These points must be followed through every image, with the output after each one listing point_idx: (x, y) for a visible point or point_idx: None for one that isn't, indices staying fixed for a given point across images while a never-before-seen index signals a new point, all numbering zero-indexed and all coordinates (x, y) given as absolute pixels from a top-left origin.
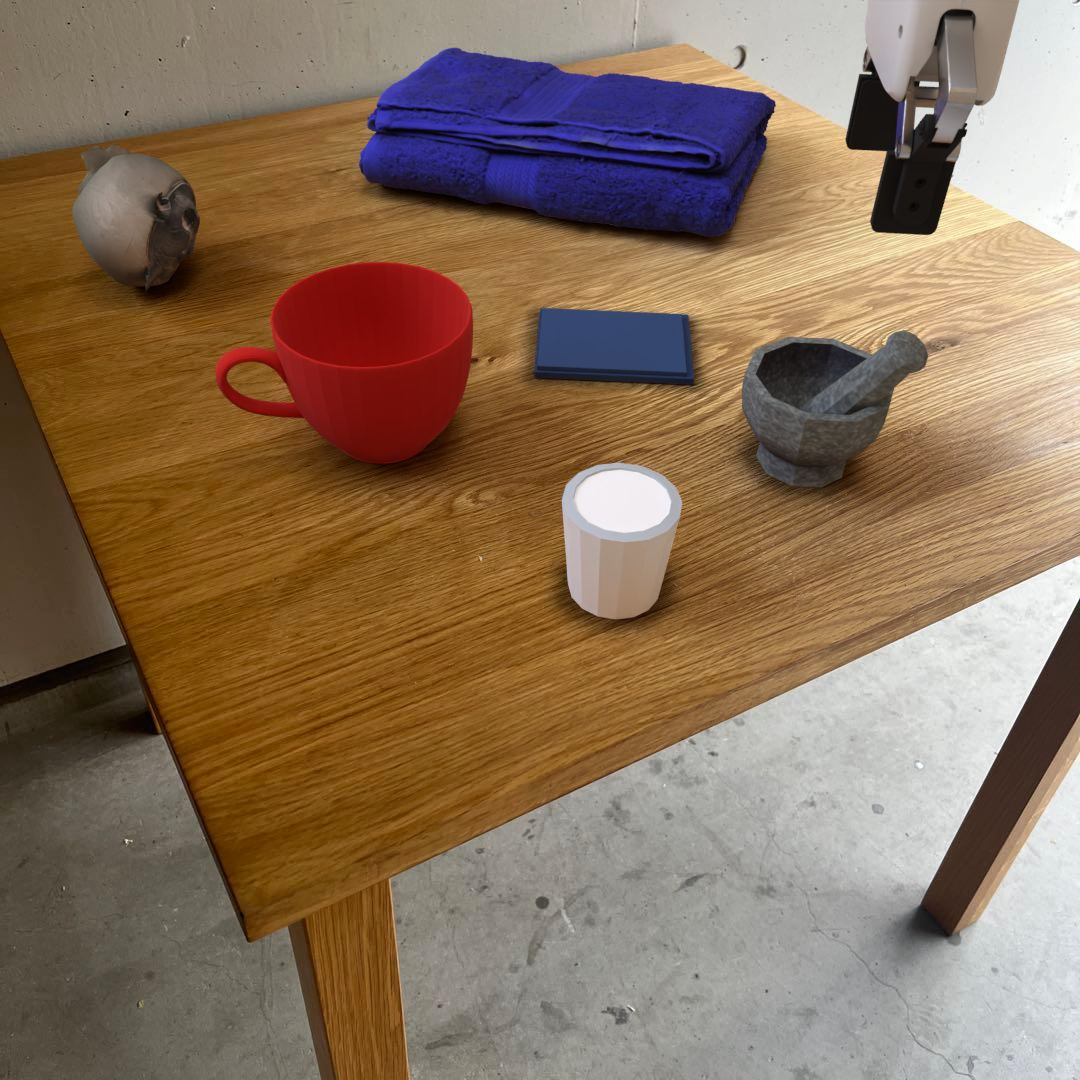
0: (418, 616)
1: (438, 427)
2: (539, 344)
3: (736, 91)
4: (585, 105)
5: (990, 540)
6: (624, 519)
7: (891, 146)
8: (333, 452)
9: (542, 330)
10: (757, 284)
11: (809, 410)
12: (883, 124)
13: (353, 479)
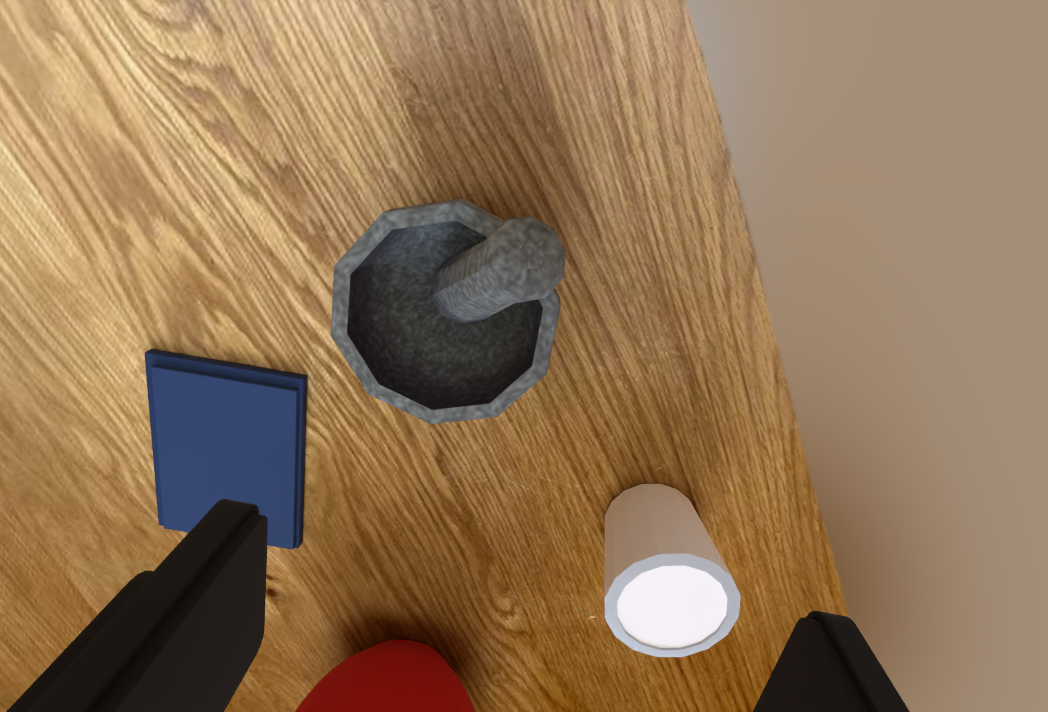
0: (655, 664)
1: (451, 680)
2: None
3: None
4: None
5: (656, 74)
6: (703, 610)
7: (259, 547)
8: None
9: None
10: (23, 218)
11: (470, 320)
12: (218, 643)
13: (471, 696)
